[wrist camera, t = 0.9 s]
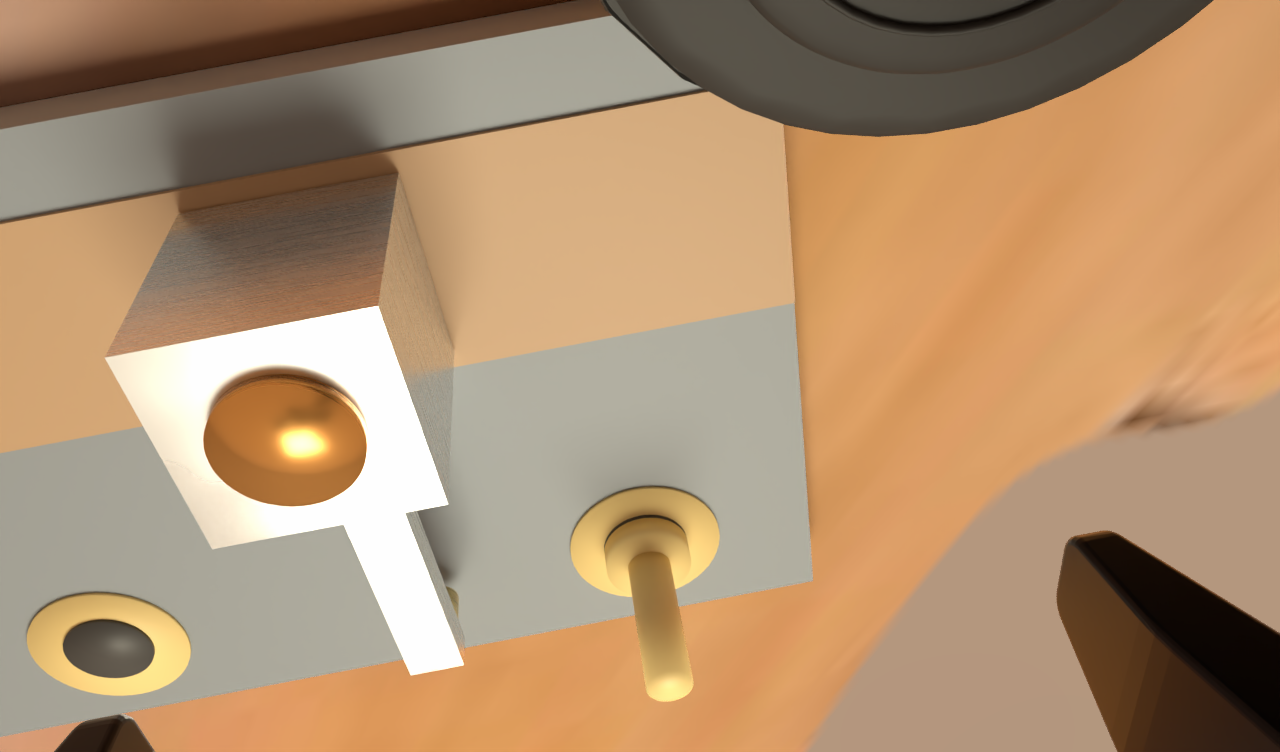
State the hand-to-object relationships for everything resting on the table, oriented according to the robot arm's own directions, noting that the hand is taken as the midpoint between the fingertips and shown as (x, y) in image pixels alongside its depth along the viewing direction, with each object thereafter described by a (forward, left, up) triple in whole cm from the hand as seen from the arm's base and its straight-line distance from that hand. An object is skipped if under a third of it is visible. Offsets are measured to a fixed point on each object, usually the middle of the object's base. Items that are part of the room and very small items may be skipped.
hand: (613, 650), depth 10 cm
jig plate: (+7, +5, -13) cm, 15 cm away
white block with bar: (+5, +5, -11) cm, 13 cm away
